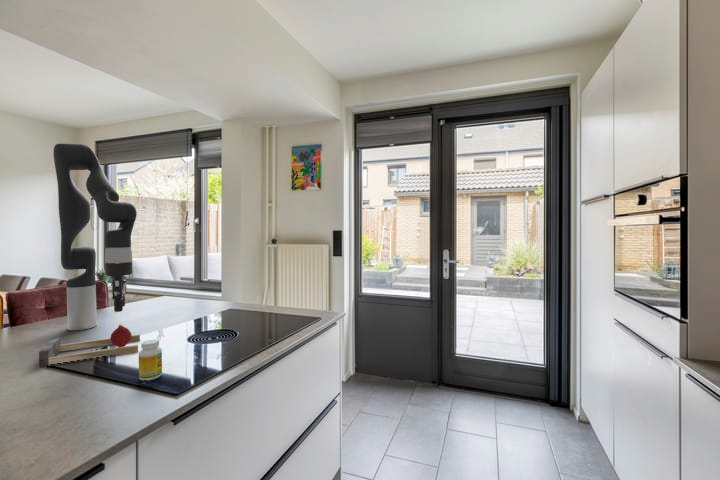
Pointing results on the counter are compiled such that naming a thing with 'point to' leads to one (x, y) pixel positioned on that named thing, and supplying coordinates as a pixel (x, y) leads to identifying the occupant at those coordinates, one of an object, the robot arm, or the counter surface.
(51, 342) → the guide rails
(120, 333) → the onion
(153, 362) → the supplement bottle
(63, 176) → the robot arm
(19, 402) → the counter surface
